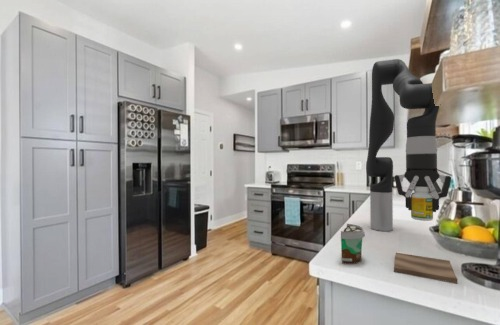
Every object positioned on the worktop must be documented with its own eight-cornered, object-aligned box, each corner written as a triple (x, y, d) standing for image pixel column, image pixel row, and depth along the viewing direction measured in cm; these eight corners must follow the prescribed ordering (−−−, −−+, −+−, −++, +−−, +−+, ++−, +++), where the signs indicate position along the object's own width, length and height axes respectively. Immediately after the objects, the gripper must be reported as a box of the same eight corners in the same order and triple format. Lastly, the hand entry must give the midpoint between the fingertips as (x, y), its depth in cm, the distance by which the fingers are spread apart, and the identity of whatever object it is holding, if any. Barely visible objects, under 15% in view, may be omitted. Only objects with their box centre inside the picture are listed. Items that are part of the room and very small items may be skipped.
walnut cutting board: (395, 256, 84) (395, 252, 84) (449, 264, 76) (449, 260, 76) (393, 271, 72) (393, 267, 72) (457, 283, 64) (457, 278, 65)
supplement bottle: (416, 216, 78) (415, 185, 78) (436, 219, 74) (436, 186, 74) (407, 218, 75) (407, 186, 75) (428, 222, 71) (427, 187, 71)
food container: (363, 268, 74) (362, 234, 74) (340, 264, 77) (340, 231, 77) (366, 255, 85) (366, 225, 85) (347, 252, 88) (346, 223, 88)
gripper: (450, 152, 74) (450, 210, 74) (393, 153, 81) (394, 206, 81) (454, 151, 67) (455, 215, 67) (392, 153, 75) (392, 210, 75)
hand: (421, 210), depth 74 cm, fingers closed on supplement bottle, 5 cm apart
